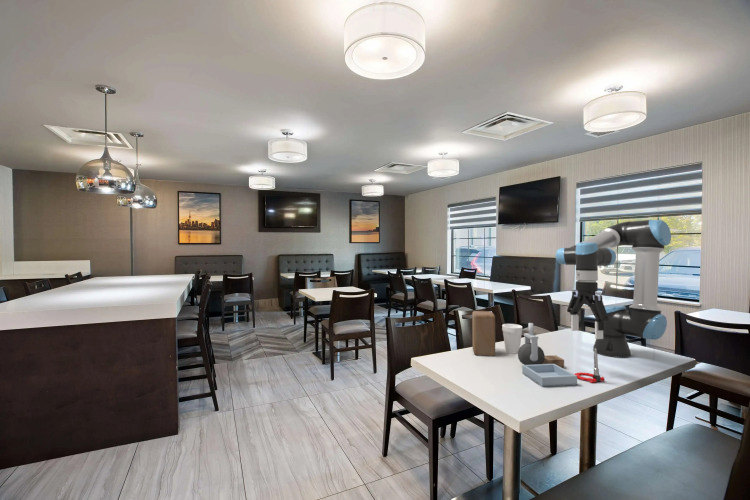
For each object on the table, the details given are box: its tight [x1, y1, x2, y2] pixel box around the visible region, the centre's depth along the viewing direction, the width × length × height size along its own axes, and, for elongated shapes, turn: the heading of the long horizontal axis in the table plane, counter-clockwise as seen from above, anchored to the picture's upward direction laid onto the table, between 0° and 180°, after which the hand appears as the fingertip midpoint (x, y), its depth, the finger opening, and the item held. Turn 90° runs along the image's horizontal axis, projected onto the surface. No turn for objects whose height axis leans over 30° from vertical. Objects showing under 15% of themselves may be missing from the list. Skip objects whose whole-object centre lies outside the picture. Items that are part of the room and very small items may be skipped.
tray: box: [521, 364, 578, 388], centre depth 136 cm, size 14×14×4 cm
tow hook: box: [573, 348, 605, 384], centre depth 137 cm, size 8×13×9 cm
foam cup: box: [501, 323, 523, 355], centre depth 172 cm, size 10×9×13 cm
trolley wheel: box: [517, 322, 546, 365], centre depth 150 cm, size 10×6×19 cm, turn 96°
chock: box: [543, 354, 565, 369], centre depth 151 cm, size 7×6×4 cm
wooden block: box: [471, 310, 496, 357], centre depth 170 cm, size 10×10×20 cm
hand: (586, 334), depth 137 cm, fingers open, 13 cm apart
